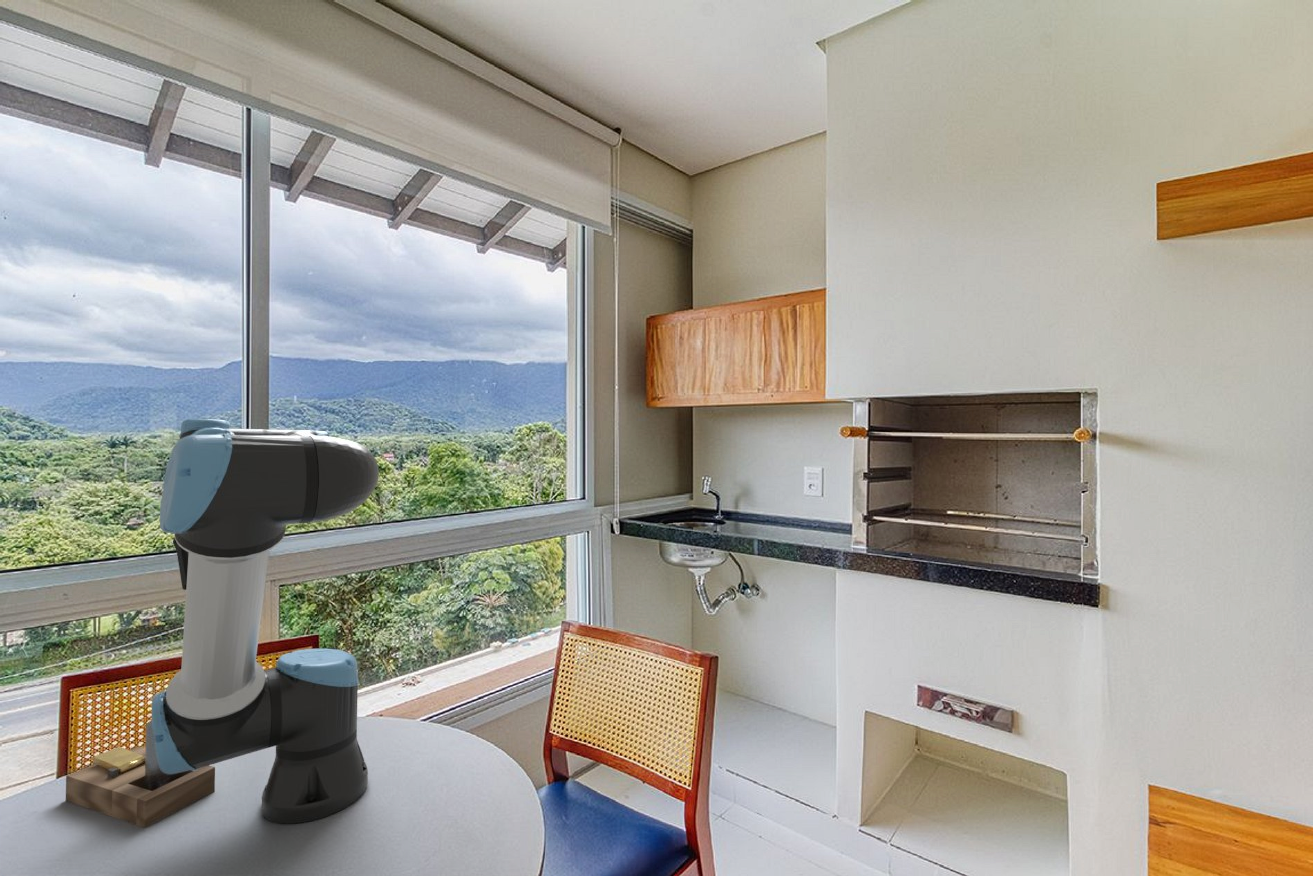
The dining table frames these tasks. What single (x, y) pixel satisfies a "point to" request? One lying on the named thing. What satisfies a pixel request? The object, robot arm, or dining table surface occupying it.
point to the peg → (154, 764)
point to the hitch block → (136, 792)
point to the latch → (119, 759)
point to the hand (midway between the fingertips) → (202, 628)
